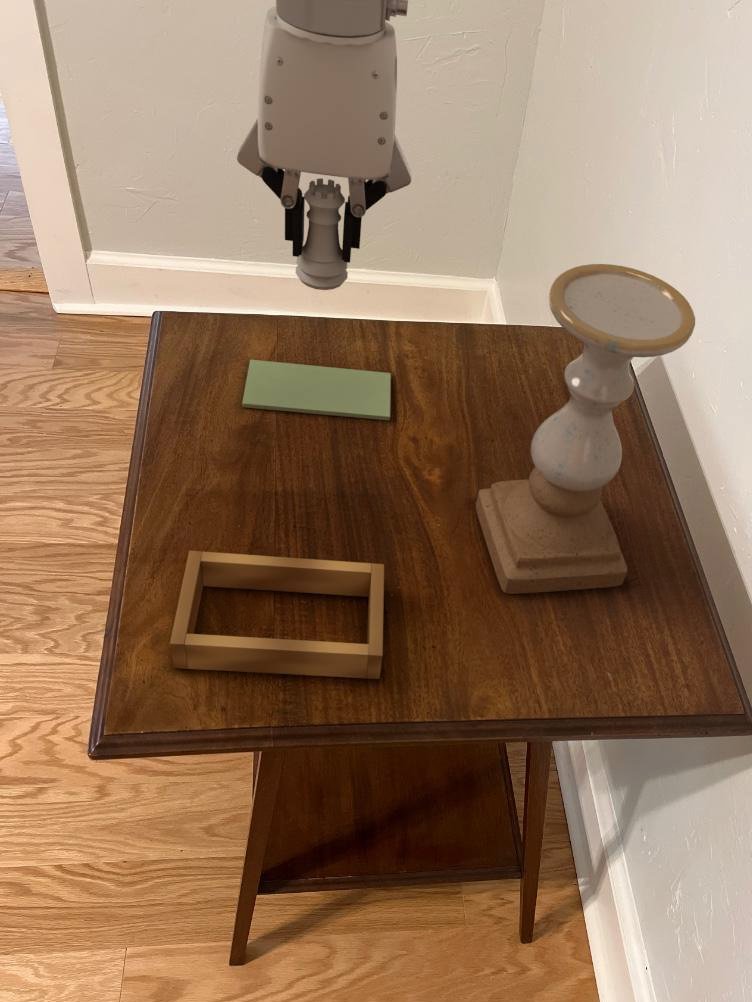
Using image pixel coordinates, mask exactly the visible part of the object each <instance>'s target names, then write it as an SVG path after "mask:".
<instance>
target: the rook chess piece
mask: <svg viewBox="0 0 752 1002" xmlns="http://www.w3.org/2000/svg"><path fill="white" fill-rule="evenodd" d="M308 184H309V185H308V189H307V190H306V191H305V192H304V195H303V197H304V198H305V201H306V203H307V205H308V206H309V210H307V211H306V218H307V219H308V228H307V229H308V230H307V235H306V239H305V242H304V244H303V248H302V255H299V257H296V264H297V266H296V267H295V271H294V273H295V274H296V276H297V278H298V279H299V281H300V282H301V283H302V284H303V285H305V286H306V287H308V288H310V289H314V290H318V291H319V290H321V291H330V290H335V289H337V288H340V287H341V286H342V285H343V284H344V282H345V281H347V279H348V275H349V274H348V273H349V272H348V271H347V270H348V262H344V260H342V248H341V244H340V235H339V222H340V221H342V215H341V214H340V208H342V206H343V205H345V202H346V198H345V197H344V195H343V194H342V191H341V190H342V186H341V185H340V183H335V180H333V179H330V178H328V179H327V183H324V178H316V181H315V180H314V179H313V180H310V182H309V183H308Z"/></svg>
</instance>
